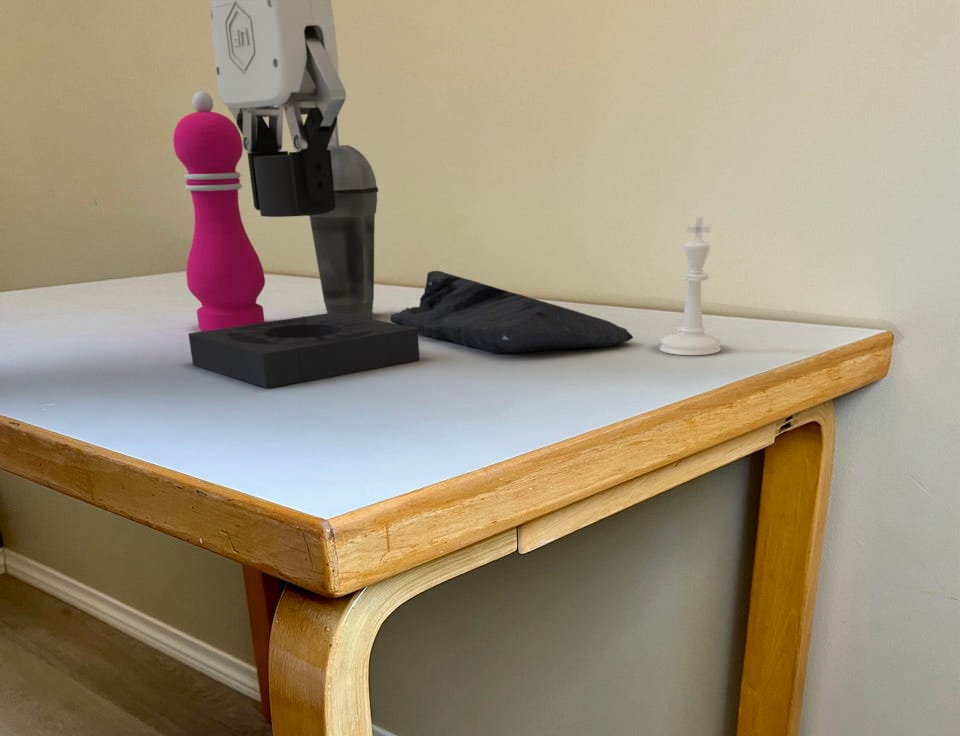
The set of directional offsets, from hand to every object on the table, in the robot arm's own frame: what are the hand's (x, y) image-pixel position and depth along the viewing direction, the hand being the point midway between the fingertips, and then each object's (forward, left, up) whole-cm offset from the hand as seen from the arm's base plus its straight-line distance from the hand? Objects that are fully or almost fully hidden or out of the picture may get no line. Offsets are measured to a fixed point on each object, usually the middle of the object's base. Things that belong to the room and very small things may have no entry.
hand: (294, 207), depth 76 cm
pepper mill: (+4, +20, -12) cm, 24 cm away
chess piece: (+25, -19, -12) cm, 33 cm away
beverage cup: (+15, +16, -12) cm, 25 cm away
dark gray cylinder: (0, 0, 0) cm, 0 cm away
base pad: (0, 0, -12) cm, 12 cm away
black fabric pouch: (+19, -3, -12) cm, 22 cm away
